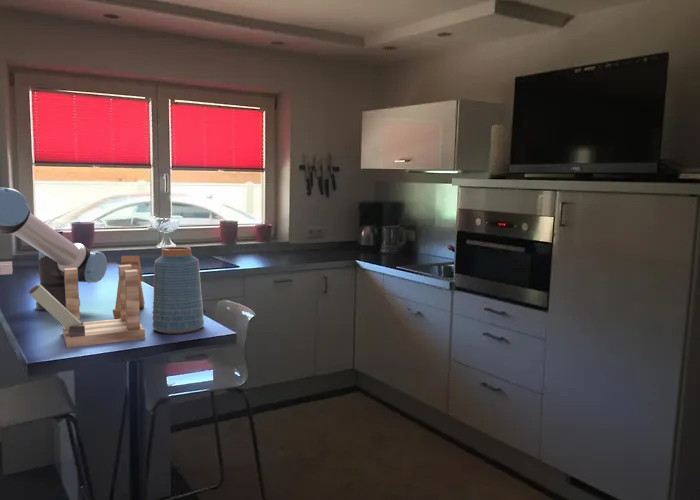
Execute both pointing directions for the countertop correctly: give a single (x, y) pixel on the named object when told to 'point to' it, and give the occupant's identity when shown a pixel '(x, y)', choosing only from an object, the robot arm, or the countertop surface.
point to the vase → (177, 292)
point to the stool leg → (54, 307)
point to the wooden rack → (105, 329)
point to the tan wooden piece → (135, 264)
